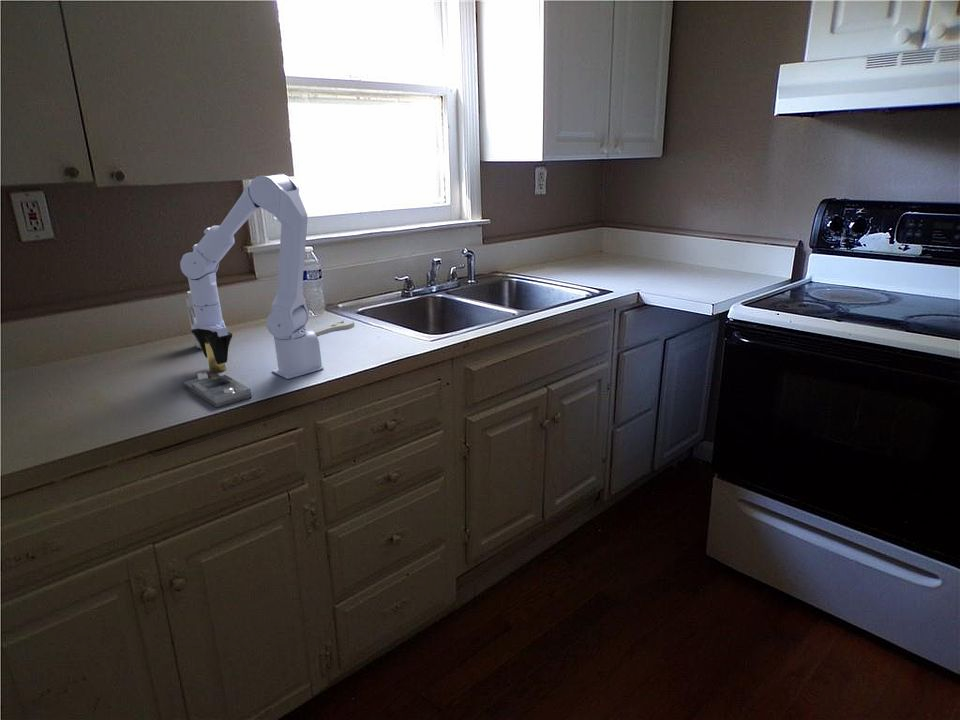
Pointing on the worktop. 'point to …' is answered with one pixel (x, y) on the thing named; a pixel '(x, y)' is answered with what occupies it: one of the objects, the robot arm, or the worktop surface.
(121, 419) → the worktop surface
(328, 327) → the adjustable wrench
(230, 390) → the studded plate with cutout
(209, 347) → the brass pin
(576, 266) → the worktop surface
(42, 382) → the worktop surface
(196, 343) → the energy drink can
